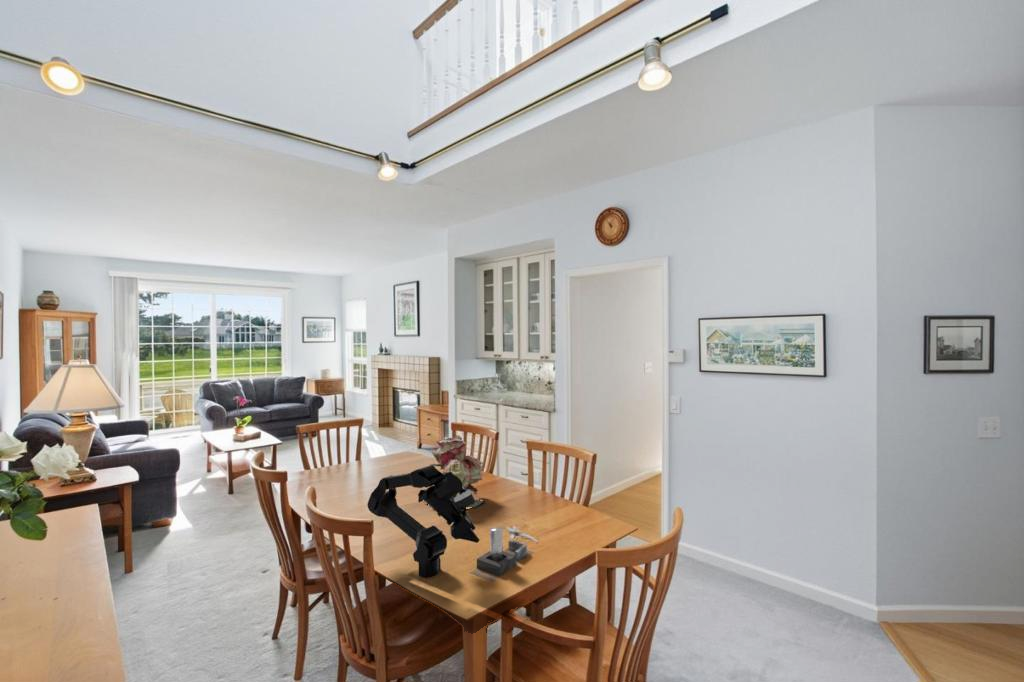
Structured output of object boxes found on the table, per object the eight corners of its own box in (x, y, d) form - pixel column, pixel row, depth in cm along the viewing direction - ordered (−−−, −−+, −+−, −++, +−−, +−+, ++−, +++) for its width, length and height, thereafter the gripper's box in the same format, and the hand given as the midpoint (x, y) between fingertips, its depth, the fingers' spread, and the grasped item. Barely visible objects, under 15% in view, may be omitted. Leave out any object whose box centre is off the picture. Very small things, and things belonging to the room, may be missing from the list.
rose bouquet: (447, 518, 194) (446, 446, 194) (416, 499, 218) (416, 435, 218) (498, 505, 209) (497, 438, 209) (464, 488, 233) (464, 428, 233)
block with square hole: (492, 586, 141) (492, 571, 141) (469, 577, 146) (469, 563, 146) (533, 556, 160) (533, 543, 160) (512, 549, 165) (512, 537, 165)
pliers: (513, 544, 167) (498, 528, 181) (513, 548, 167) (498, 532, 181) (538, 539, 171) (521, 524, 185) (538, 543, 171) (521, 528, 185)
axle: (497, 570, 148) (497, 532, 147) (487, 567, 150) (487, 529, 150) (505, 565, 151) (505, 528, 151) (495, 562, 153) (495, 525, 153)
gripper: (462, 493, 137) (499, 527, 140) (456, 474, 156) (489, 505, 158) (435, 522, 136) (473, 556, 138) (432, 499, 154) (466, 530, 157)
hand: (476, 535), depth 148 cm, fingers open, 9 cm apart
